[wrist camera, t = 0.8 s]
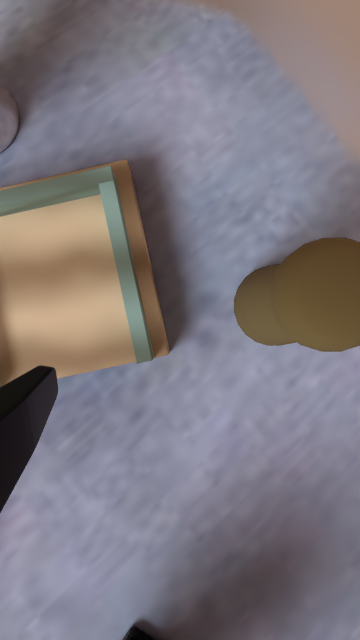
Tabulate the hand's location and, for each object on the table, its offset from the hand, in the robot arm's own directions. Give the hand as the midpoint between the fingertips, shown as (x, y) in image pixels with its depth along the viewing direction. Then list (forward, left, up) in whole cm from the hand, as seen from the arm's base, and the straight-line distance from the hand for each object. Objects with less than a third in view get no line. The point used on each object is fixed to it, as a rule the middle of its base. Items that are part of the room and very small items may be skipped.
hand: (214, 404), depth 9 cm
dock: (-1, +12, -15) cm, 19 cm away
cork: (+6, -3, -16) cm, 17 cm away
